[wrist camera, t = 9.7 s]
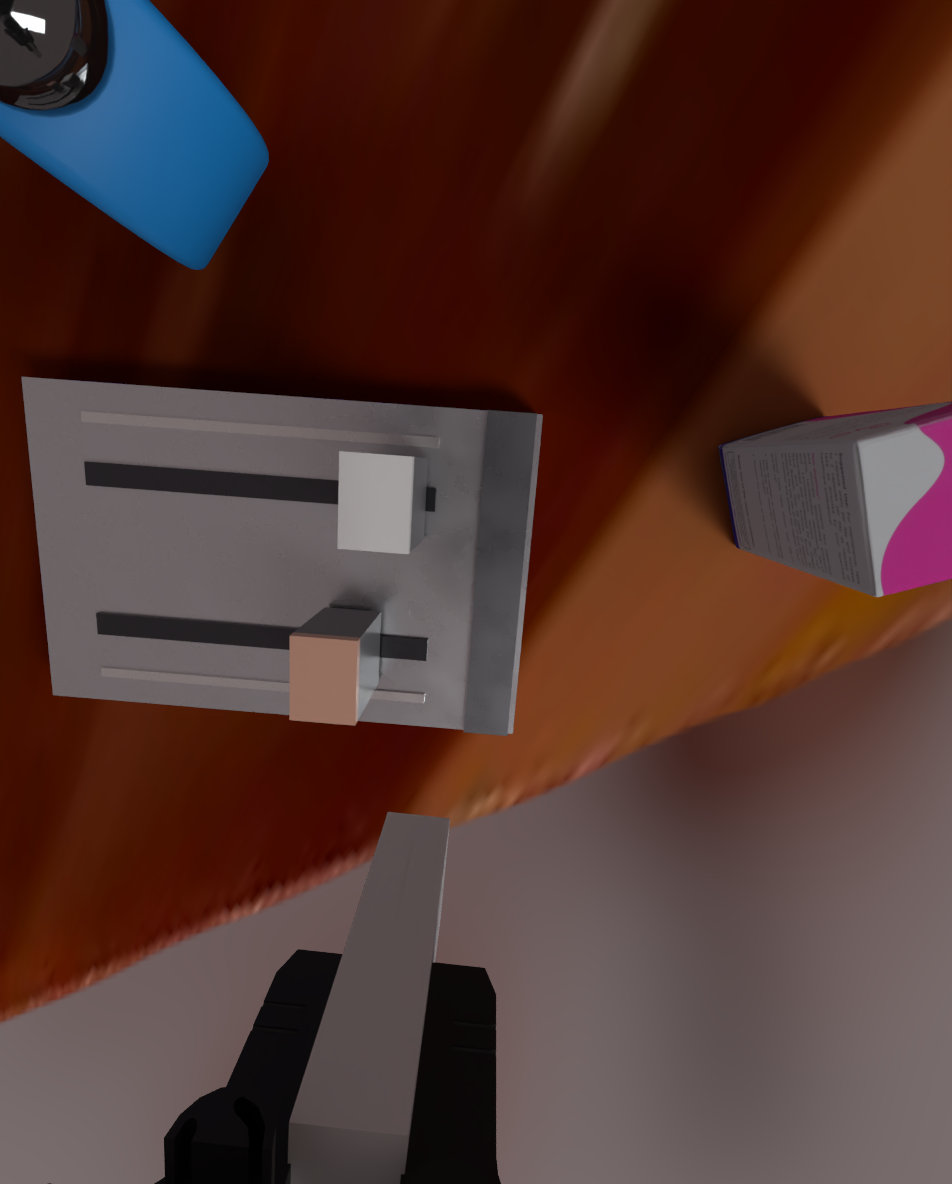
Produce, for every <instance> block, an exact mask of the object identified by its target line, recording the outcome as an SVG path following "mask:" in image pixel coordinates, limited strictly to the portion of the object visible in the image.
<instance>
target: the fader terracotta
mask: <svg viewBox="0 0 952 1184" xmlns="http://www.w3.org/2000/svg"><path fill="white" fill-rule="evenodd" d="M380 630H381V612H377V611H365V610H353V609H340V608H328V607H324V608H323V609H322V610H321V611H319V612H318V613H317V614H316V615H314V616H313V617H312V618H311V619H309V620H308V621H307V622H306V623H305V624H303V625H302V626H301V627H300V628H298V629H297V630H296V631H295V632H293V633H292V634H291V635H290V720H296V721H308V722H320V723H332V724H343V725H356V723H357V721H358V720H359V718H360V716H361V714H362V712H363V710H364V709H365V707H366V705H367V703H368V701H369V700H370V698H371V696H372V694H373V692H374V690H375V689H376V687H377V685H378V683H379V657H380Z"/></svg>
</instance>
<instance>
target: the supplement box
mask: <svg viewBox="0 0 952 1184" xmlns="http://www.w3.org/2000/svg"><path fill="white" fill-rule="evenodd" d="M718 448H719V455H720V461H721V466H722V472H723V477H724V483H725V488H726V493H727V500H728V505H729V512H730V519H731V524H732V530H733V536H734V541H735V545H736V547H737V548H739V549H742V550H745V551H747V552H750V553H753V554H755V555H758V556H761V557H764V558H767V559H770V560H773V561H776V562H778V563H782V564H784V565H787V566H790V567H793V568H796V569H798V570H801V571H804V572H807V573H810V574H812V575H815V576H818V577H821V578H824V579H826V580H829V581H833V582H835V583H838V584H841V585H844V586H847V587H849V588H852V589H855V590H858V591H861V592H864V593H866V594H869V595H872V596H874V597H881V596H884V595H888V594H893V593H897V592H900V591H904V590H908V589H912V588H916V587H920V586H924V585H928V584H932V583H936V582H940V581H944V580H948V579H952V402H944V403H936V404H928V405H921V406H912V407H904V408H896V409H887V410H879V411H869V412H860V413H853V414H845V415H837V416H826V417H819V418H814V419H810V420H806V421H802V422H798V423H795V424H791V425H787V426H784V427H780V428H776V429H773V430H769V431H766V432H762V433H758V434H755V435H751V436H748V437H744V438H741V439H738V440H734V441H731V442H728V443H725V444H721V445H719V447H718Z"/></svg>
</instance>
